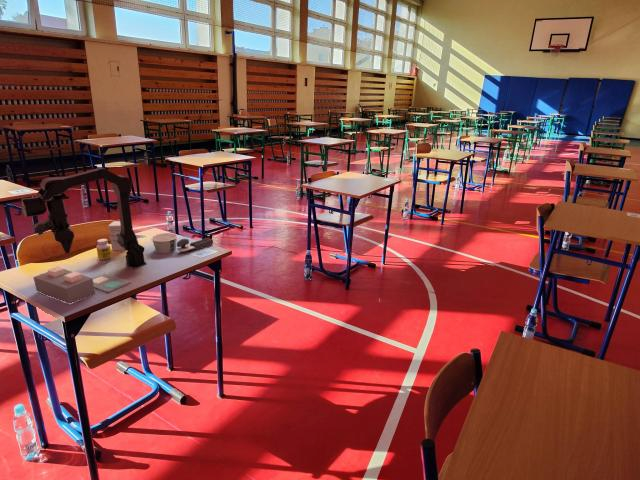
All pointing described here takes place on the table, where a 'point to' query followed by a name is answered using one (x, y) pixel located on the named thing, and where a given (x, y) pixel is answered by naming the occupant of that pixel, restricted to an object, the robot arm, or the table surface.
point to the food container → (164, 242)
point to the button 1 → (56, 271)
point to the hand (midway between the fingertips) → (65, 249)
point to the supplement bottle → (103, 250)
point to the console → (64, 287)
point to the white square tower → (115, 235)
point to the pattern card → (108, 283)
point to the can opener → (193, 244)
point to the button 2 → (73, 277)
